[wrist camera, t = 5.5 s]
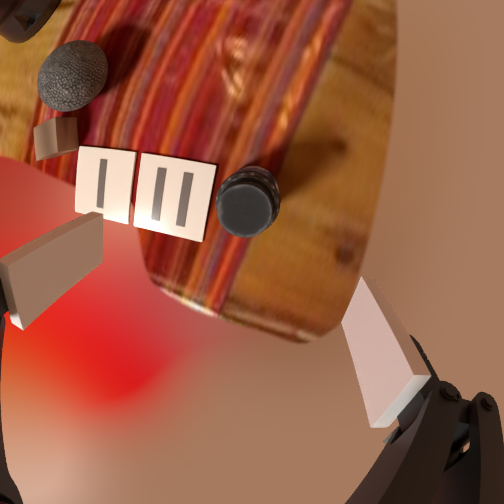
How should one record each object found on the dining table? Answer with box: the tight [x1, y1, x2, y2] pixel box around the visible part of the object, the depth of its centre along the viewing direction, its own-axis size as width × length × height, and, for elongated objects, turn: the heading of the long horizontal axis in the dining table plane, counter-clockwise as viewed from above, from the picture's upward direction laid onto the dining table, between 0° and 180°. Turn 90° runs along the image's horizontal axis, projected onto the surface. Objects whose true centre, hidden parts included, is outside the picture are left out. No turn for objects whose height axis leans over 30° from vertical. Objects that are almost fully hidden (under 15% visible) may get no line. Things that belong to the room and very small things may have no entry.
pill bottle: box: [216, 166, 280, 238], centre depth 28 cm, size 6×6×11 cm
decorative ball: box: [37, 40, 108, 111], centre depth 24 cm, size 10×10×10 cm
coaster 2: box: [134, 153, 217, 242], centre depth 34 cm, size 10×10×1 cm
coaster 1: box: [75, 146, 137, 224], centre depth 34 cm, size 10×10×1 cm
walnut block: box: [34, 117, 79, 161], centre depth 29 cm, size 5×5×5 cm
